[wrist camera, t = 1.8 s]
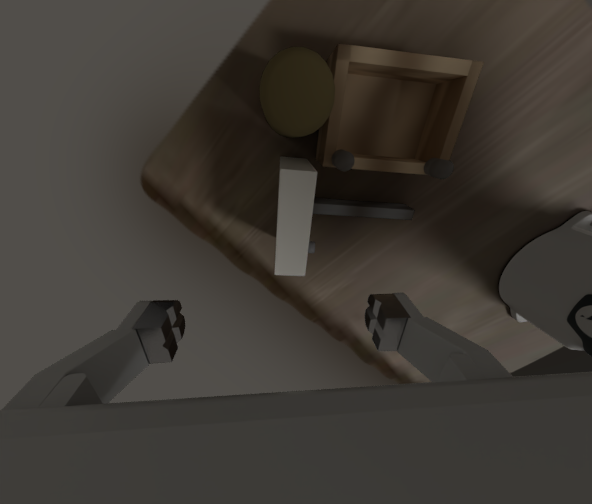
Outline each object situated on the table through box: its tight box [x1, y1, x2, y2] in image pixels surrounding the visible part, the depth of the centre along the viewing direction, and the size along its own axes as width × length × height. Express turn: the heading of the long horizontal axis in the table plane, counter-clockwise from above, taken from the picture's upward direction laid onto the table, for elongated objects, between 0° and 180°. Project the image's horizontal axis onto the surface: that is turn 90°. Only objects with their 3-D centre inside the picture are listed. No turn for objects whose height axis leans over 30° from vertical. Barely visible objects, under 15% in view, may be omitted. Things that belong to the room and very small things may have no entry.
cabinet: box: [312, 43, 484, 220], centre depth 24 cm, size 12×15×8 cm
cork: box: [259, 47, 335, 137], centre depth 20 cm, size 6×6×11 cm
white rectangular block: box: [275, 156, 317, 276], centre depth 26 cm, size 10×4×9 cm, turn 175°
